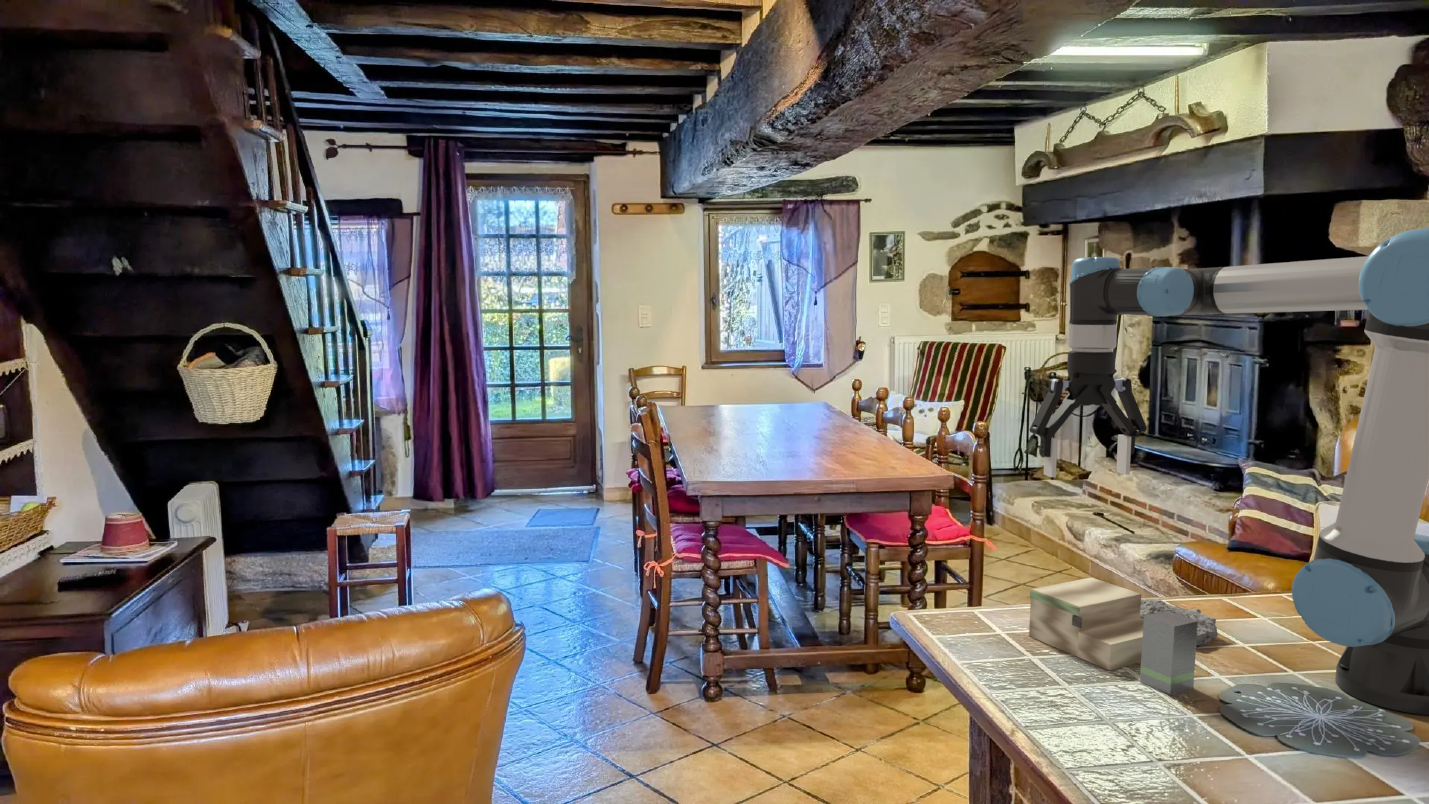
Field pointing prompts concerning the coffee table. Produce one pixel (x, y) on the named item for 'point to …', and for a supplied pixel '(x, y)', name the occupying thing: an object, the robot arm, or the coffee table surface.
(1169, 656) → the column
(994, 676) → the coffee table surface
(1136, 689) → the coffee table surface
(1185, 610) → the rock
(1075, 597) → the stand
